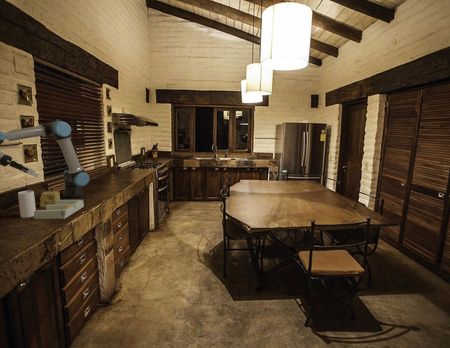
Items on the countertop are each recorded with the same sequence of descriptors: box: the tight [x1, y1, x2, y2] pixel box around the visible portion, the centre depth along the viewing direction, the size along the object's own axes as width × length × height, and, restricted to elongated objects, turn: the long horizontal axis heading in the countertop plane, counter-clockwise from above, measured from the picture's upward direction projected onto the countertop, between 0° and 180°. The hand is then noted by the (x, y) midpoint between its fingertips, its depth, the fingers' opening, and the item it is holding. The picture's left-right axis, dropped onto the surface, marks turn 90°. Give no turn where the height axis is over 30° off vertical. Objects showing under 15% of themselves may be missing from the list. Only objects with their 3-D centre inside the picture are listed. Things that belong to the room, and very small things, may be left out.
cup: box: [17, 190, 36, 219], centre depth 169 cm, size 8×8×16 cm
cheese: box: [39, 190, 61, 208], centre depth 194 cm, size 10×11×10 cm
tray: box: [33, 199, 85, 220], centre depth 177 cm, size 18×28×6 cm, turn 6°
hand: (35, 174), depth 177 cm, fingers open, 13 cm apart
